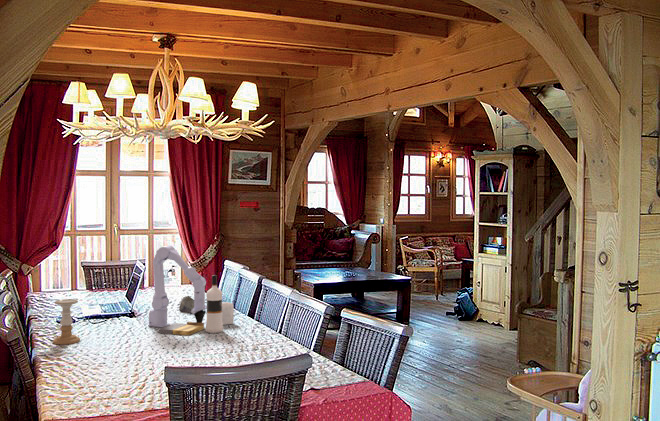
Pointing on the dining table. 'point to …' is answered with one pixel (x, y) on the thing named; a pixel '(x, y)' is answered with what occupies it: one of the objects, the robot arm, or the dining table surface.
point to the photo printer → (227, 313)
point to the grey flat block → (170, 328)
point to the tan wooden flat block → (189, 328)
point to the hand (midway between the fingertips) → (199, 324)
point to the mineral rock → (186, 304)
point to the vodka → (214, 308)
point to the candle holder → (66, 323)
